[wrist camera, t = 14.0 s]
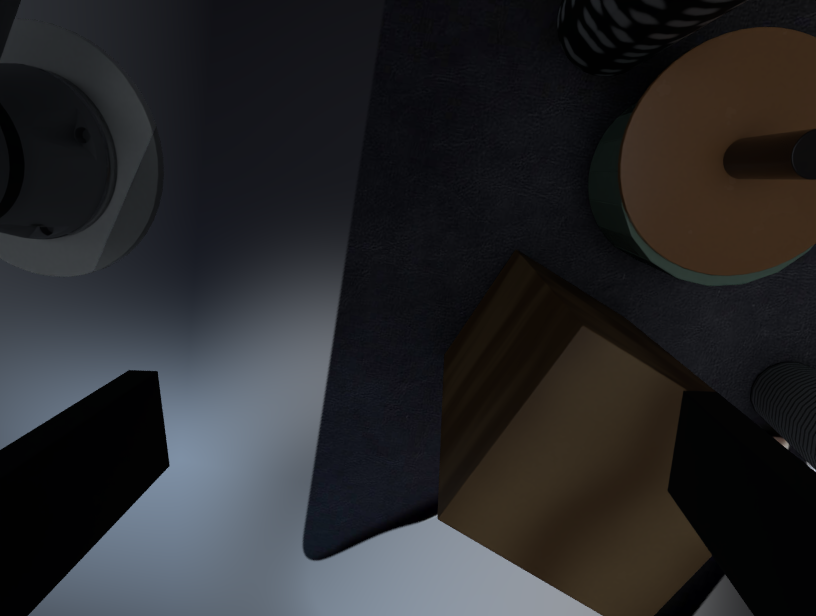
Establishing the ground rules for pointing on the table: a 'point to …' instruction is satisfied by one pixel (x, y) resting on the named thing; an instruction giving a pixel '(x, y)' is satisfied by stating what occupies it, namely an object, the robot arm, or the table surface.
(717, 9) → the spotted tube
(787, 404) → the cup
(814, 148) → the lid
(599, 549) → the stand
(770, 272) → the pot
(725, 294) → the table surface
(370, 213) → the table surface
